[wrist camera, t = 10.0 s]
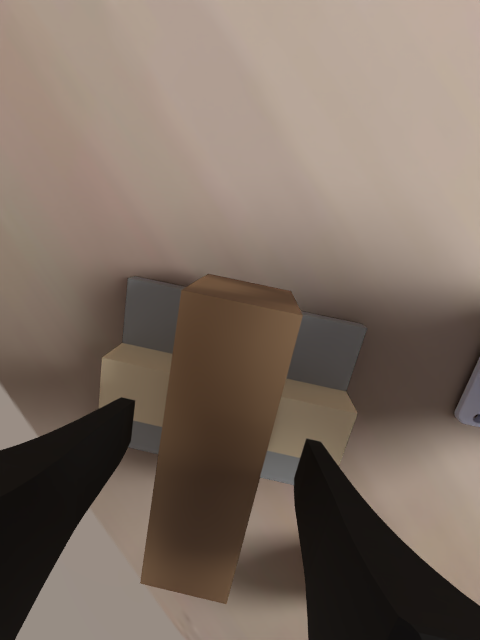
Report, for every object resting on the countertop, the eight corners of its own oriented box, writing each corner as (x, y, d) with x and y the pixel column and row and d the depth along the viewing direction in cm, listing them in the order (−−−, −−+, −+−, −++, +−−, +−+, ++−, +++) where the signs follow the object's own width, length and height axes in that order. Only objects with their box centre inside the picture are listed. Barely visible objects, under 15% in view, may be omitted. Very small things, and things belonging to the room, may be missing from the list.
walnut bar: (291, 291, 12) (302, 315, 8) (236, 512, 15) (226, 604, 12) (208, 273, 12) (181, 290, 8) (171, 497, 15) (140, 583, 12)
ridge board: (362, 323, 15) (383, 342, 12) (311, 478, 18) (319, 521, 15) (134, 276, 15) (107, 283, 13) (119, 435, 18) (94, 469, 15)
